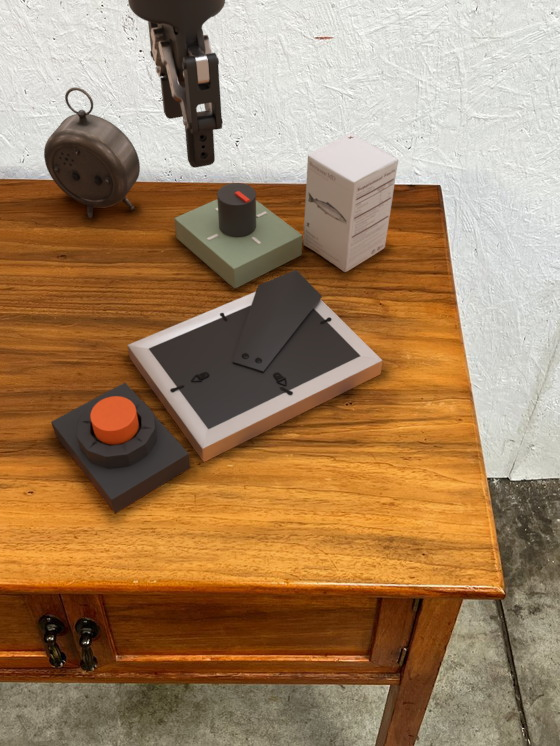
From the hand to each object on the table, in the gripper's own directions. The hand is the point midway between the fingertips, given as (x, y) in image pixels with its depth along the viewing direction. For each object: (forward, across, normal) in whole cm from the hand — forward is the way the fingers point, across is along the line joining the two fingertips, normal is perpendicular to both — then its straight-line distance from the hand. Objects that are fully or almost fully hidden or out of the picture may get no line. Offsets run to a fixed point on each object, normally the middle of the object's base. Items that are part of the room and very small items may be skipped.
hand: (188, 139), depth 69 cm
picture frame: (+22, +9, +3) cm, 24 cm away
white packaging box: (+22, -6, +19) cm, 30 cm away
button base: (+22, +15, -12) cm, 29 cm away
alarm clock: (+22, -24, -7) cm, 33 cm away
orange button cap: (+18, +15, -12) cm, 27 cm away
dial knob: (+19, -11, +7) cm, 23 cm away
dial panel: (+22, -11, +7) cm, 25 cm away
